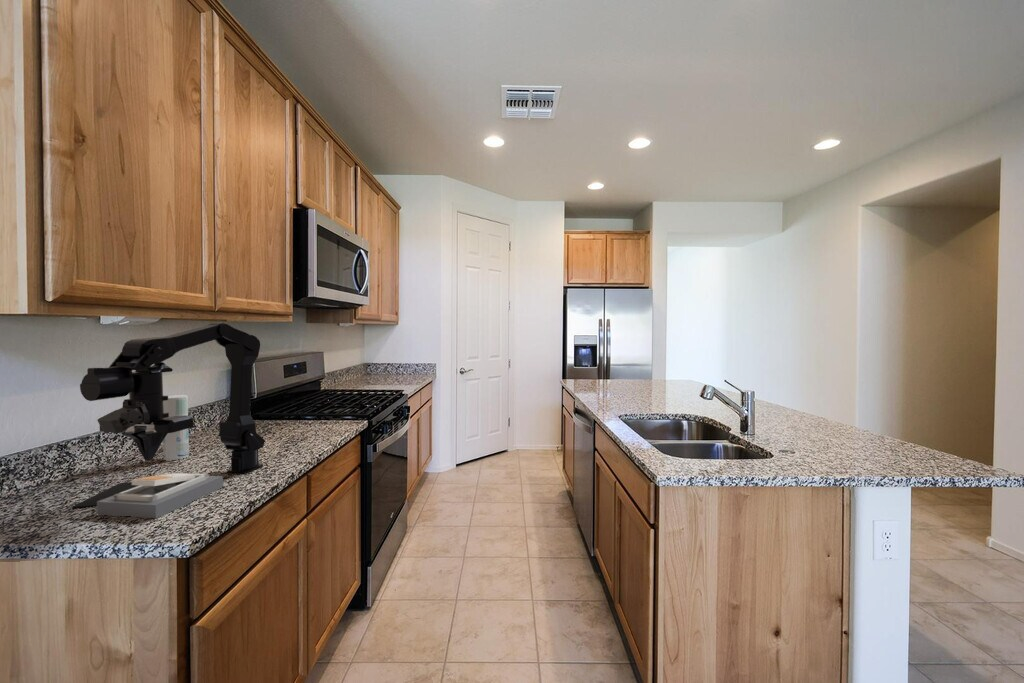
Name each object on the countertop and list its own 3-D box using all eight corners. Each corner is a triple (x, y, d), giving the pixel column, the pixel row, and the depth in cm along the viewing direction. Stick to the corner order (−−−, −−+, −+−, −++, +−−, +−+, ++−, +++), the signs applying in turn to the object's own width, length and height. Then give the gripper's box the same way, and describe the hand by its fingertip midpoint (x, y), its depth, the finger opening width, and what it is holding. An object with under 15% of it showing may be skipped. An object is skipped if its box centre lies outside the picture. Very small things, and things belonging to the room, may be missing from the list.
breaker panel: (172, 485, 104) (172, 469, 104) (223, 487, 102) (222, 471, 102) (97, 515, 87) (96, 496, 87) (156, 518, 85) (155, 499, 85)
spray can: (182, 460, 124) (180, 397, 124) (158, 462, 123) (156, 398, 122) (193, 454, 131) (191, 394, 130) (170, 455, 129) (168, 395, 129)
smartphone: (149, 480, 106) (106, 504, 92) (150, 483, 107) (106, 508, 92) (119, 482, 105) (70, 507, 90) (119, 485, 105) (70, 510, 90)
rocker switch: (173, 478, 100) (174, 472, 100) (194, 479, 99) (195, 473, 99) (131, 484, 90) (132, 478, 90) (154, 486, 89) (155, 479, 90)
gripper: (68, 398, 84) (71, 471, 84) (144, 400, 81) (147, 474, 82) (126, 390, 95) (128, 454, 95) (194, 391, 92) (196, 457, 93)
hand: (148, 460), depth 91 cm, fingers closed
